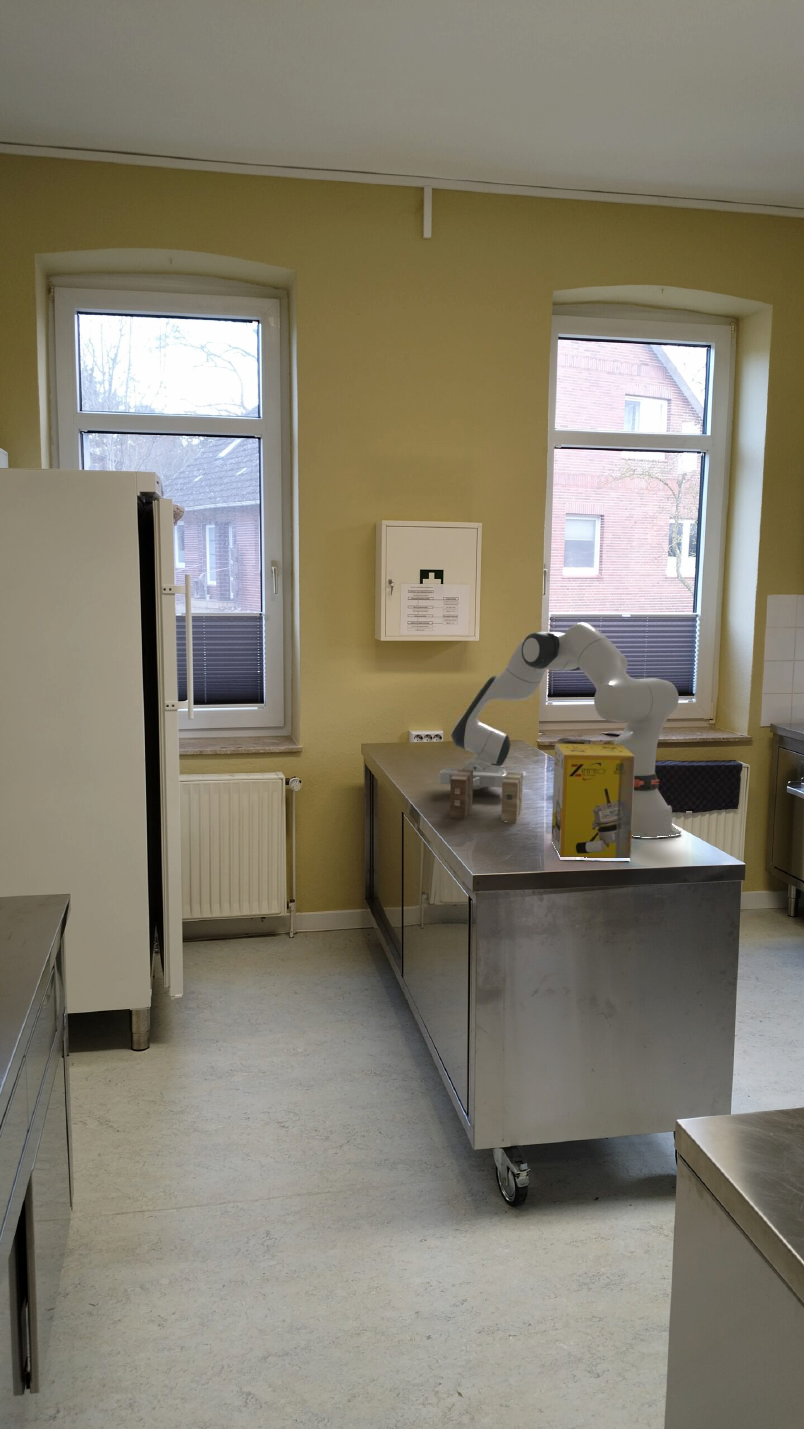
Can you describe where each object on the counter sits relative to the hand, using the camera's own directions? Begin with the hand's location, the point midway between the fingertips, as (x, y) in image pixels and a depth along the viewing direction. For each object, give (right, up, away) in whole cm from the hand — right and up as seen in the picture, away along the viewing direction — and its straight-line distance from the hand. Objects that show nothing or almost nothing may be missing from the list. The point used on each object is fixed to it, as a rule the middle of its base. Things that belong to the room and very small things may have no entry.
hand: (469, 783), depth 293 cm
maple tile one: (+10, -8, -16) cm, 21 cm away
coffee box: (+33, -4, +18) cm, 38 cm away
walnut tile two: (-3, -8, -13) cm, 15 cm away
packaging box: (+25, -13, -51) cm, 58 cm away
